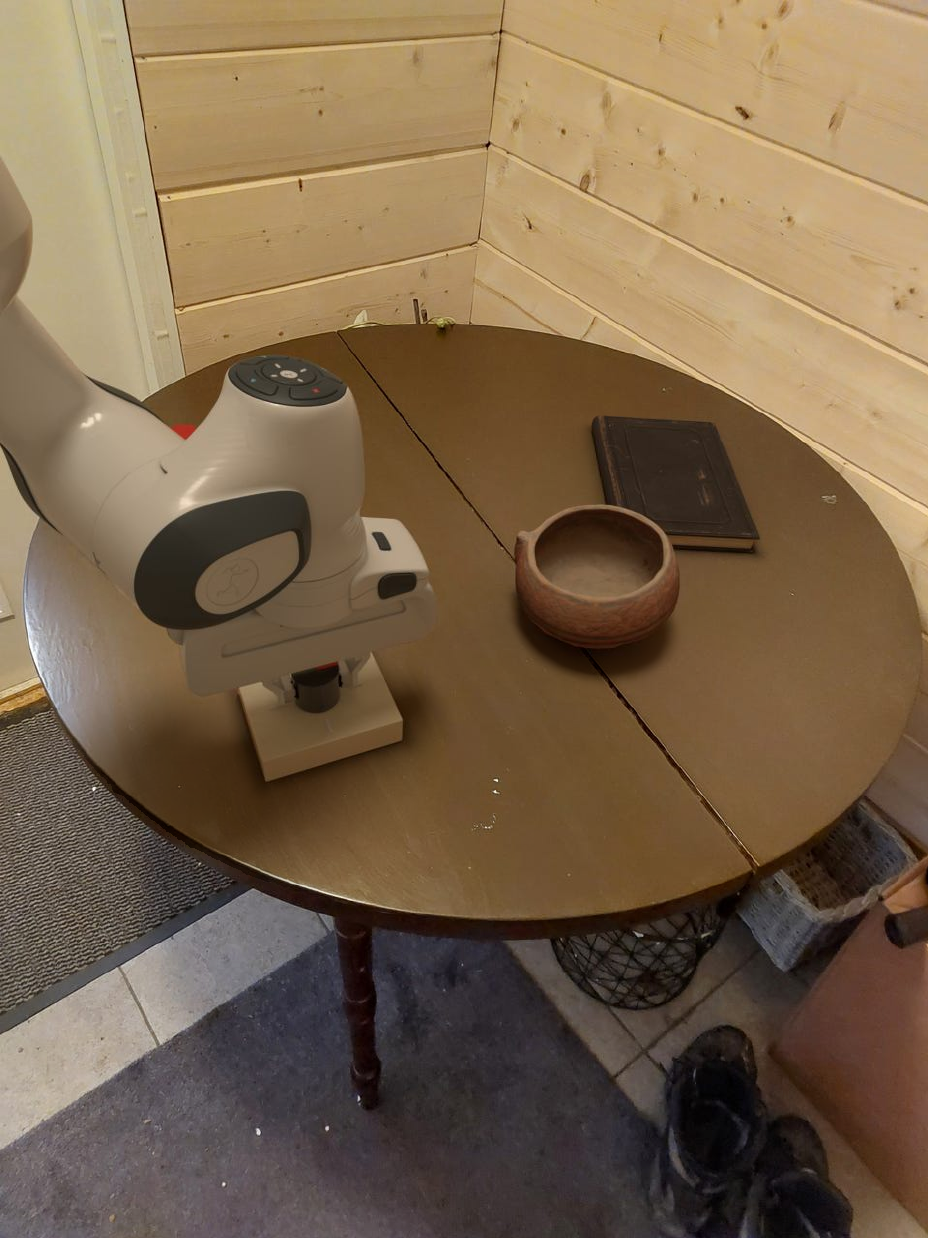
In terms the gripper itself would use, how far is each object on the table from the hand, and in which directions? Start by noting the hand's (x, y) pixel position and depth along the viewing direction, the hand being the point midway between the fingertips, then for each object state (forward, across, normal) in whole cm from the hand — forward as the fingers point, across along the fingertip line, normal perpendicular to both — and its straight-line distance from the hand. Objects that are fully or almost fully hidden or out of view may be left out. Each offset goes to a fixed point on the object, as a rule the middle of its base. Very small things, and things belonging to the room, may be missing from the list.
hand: (317, 689), depth 70 cm
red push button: (0, -4, +38) cm, 38 cm away
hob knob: (+1, 0, 0) cm, 1 cm away
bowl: (+4, +29, +3) cm, 29 cm away
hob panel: (+4, 0, 0) cm, 4 cm away
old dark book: (+4, +49, +19) cm, 53 cm away
